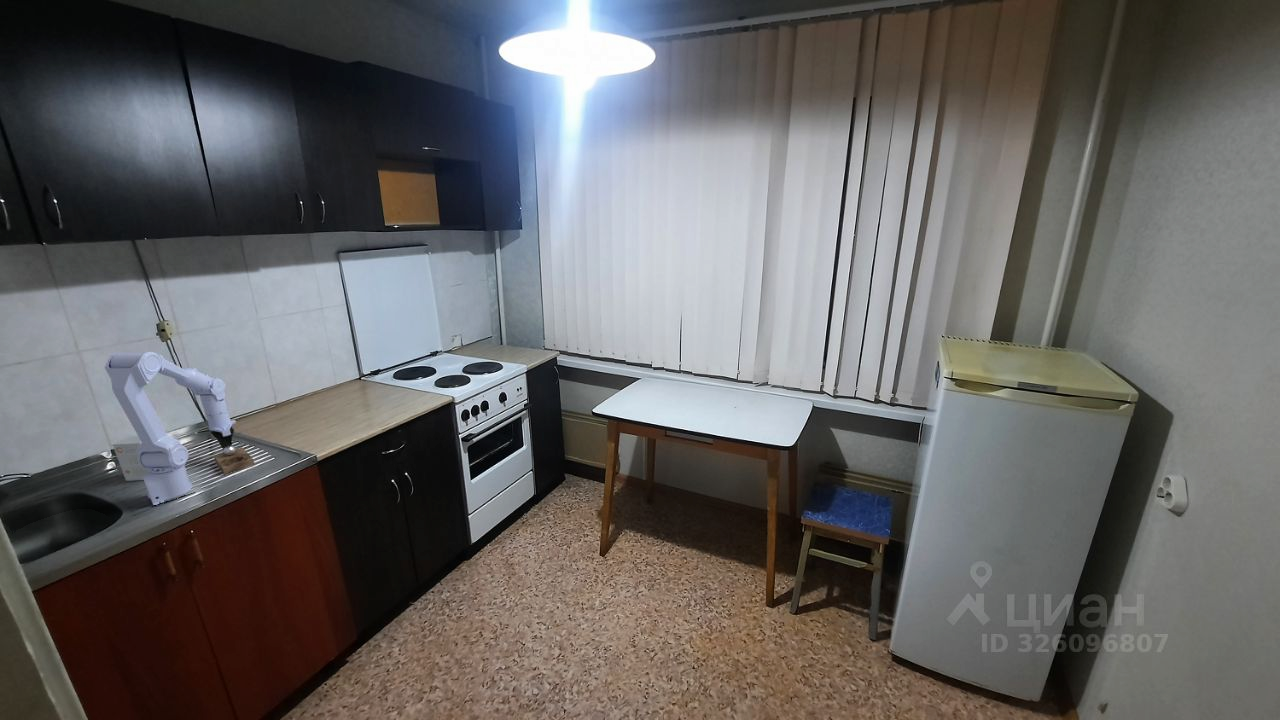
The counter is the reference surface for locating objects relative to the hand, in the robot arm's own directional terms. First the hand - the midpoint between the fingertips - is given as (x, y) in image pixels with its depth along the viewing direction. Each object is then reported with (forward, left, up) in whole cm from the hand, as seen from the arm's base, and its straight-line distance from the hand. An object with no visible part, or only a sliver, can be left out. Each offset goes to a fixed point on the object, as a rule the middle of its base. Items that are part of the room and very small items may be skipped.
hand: (227, 449), depth 169 cm
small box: (-20, +8, -4) cm, 22 cm away
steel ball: (0, -3, 0) cm, 3 cm away
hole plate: (0, -6, -4) cm, 7 cm away
